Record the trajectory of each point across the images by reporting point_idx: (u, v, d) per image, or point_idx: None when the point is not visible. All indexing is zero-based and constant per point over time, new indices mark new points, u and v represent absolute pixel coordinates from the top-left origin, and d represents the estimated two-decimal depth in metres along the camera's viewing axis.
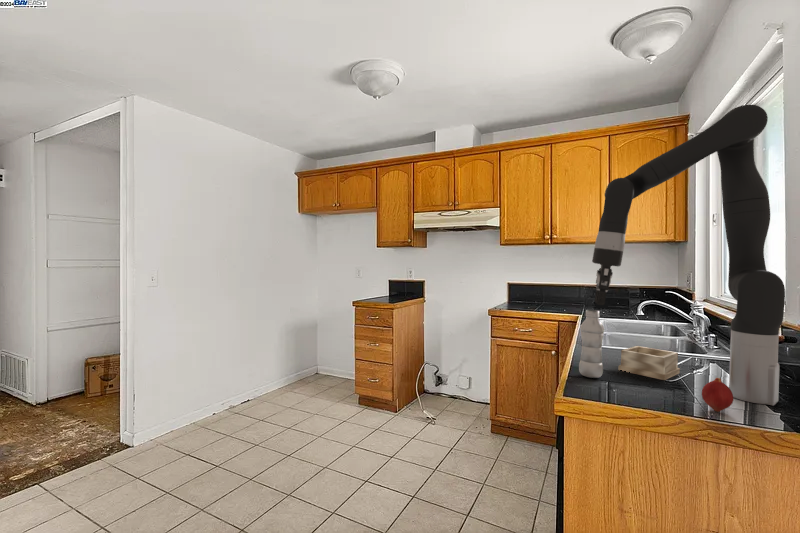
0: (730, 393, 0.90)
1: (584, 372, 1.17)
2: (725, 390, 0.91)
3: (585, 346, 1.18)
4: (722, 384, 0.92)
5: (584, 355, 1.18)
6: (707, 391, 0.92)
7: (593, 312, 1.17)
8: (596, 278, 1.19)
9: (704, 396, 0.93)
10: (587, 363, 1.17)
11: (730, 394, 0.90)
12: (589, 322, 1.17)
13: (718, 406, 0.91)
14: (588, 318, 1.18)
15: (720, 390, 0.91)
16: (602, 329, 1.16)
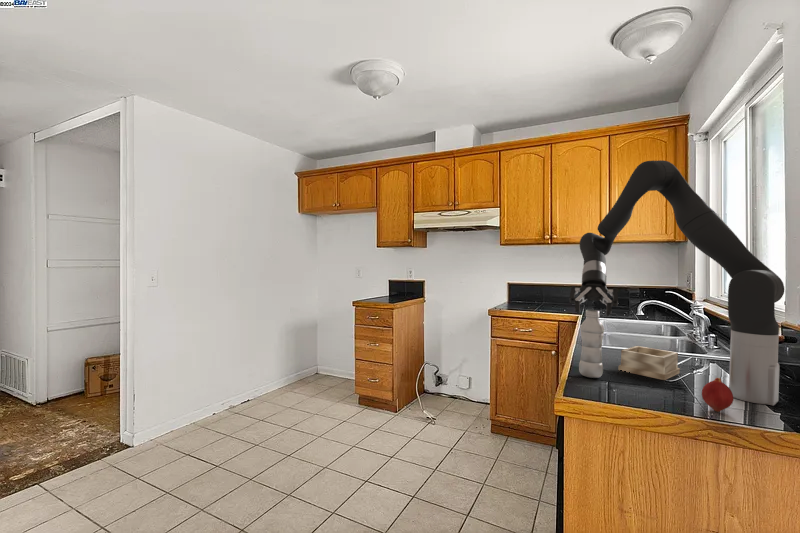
0: (730, 393, 0.90)
1: (584, 372, 1.17)
2: (725, 390, 0.91)
3: (585, 346, 1.18)
4: (722, 384, 0.92)
5: (584, 355, 1.18)
6: (707, 391, 0.92)
7: (593, 312, 1.17)
8: None
9: (704, 396, 0.93)
10: (587, 363, 1.17)
11: (730, 394, 0.90)
12: (589, 322, 1.17)
13: (718, 406, 0.91)
14: (588, 318, 1.18)
15: (720, 390, 0.91)
16: (602, 329, 1.16)
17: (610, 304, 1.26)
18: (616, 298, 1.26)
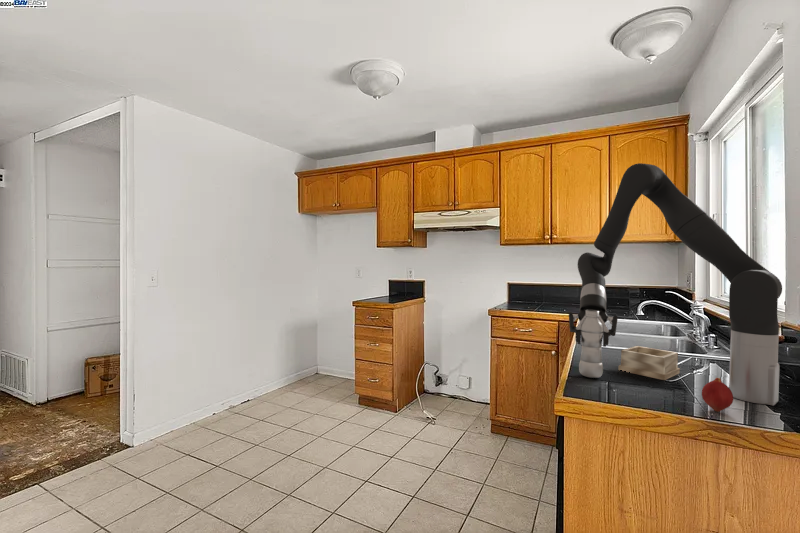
0: (730, 393, 0.90)
1: (584, 372, 1.17)
2: (725, 390, 0.91)
3: (585, 346, 1.18)
4: (722, 384, 0.92)
5: (584, 355, 1.18)
6: (707, 391, 0.92)
7: (593, 312, 1.17)
8: None
9: (704, 396, 0.93)
10: (587, 363, 1.17)
11: (730, 394, 0.90)
12: (589, 322, 1.17)
13: (718, 406, 0.91)
14: (588, 318, 1.18)
15: (720, 390, 0.91)
16: (602, 329, 1.16)
17: (607, 334, 1.17)
18: (614, 327, 1.17)
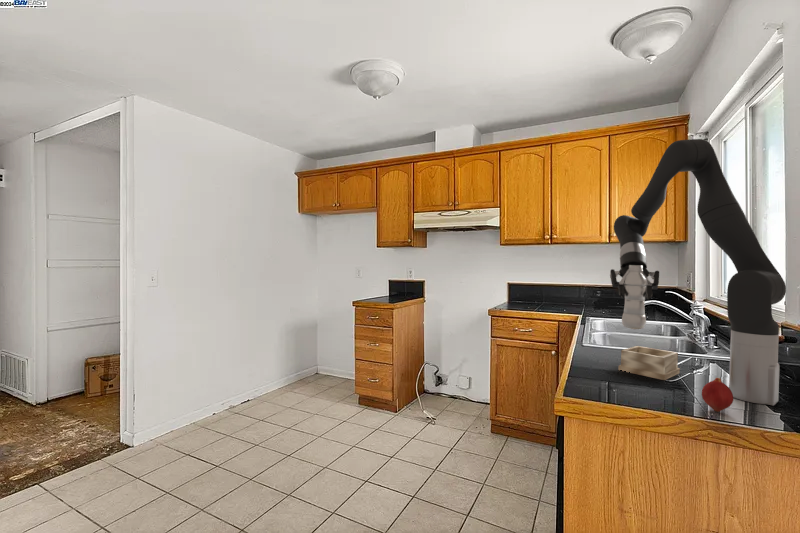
0: (730, 393, 0.90)
1: (628, 324, 1.23)
2: (725, 390, 0.91)
3: (629, 299, 1.23)
4: (722, 384, 0.92)
5: (628, 308, 1.23)
6: (707, 391, 0.92)
7: (637, 266, 1.22)
8: None
9: (704, 396, 0.93)
10: (631, 315, 1.22)
11: (730, 394, 0.90)
12: (633, 276, 1.22)
13: (718, 406, 0.91)
14: (632, 272, 1.23)
15: (720, 390, 0.91)
16: (646, 282, 1.21)
17: (650, 287, 1.22)
18: (657, 281, 1.23)
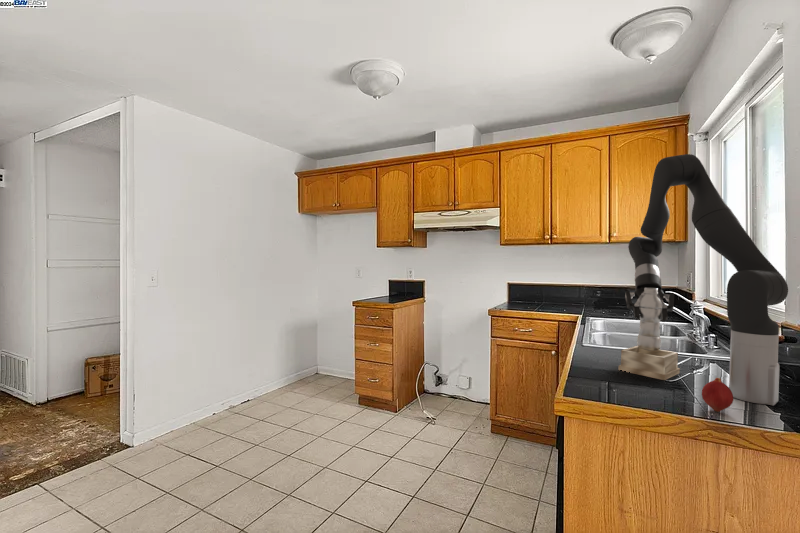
0: (730, 393, 0.90)
1: (643, 346, 1.25)
2: (725, 390, 0.91)
3: (644, 321, 1.25)
4: (722, 384, 0.92)
5: (643, 330, 1.26)
6: (707, 391, 0.92)
7: (652, 289, 1.24)
8: None
9: (704, 396, 0.93)
10: (646, 337, 1.24)
11: (730, 394, 0.90)
12: (648, 299, 1.25)
13: (718, 406, 0.91)
14: (647, 295, 1.26)
15: (720, 390, 0.91)
16: (661, 305, 1.23)
17: (665, 310, 1.25)
18: (672, 304, 1.25)
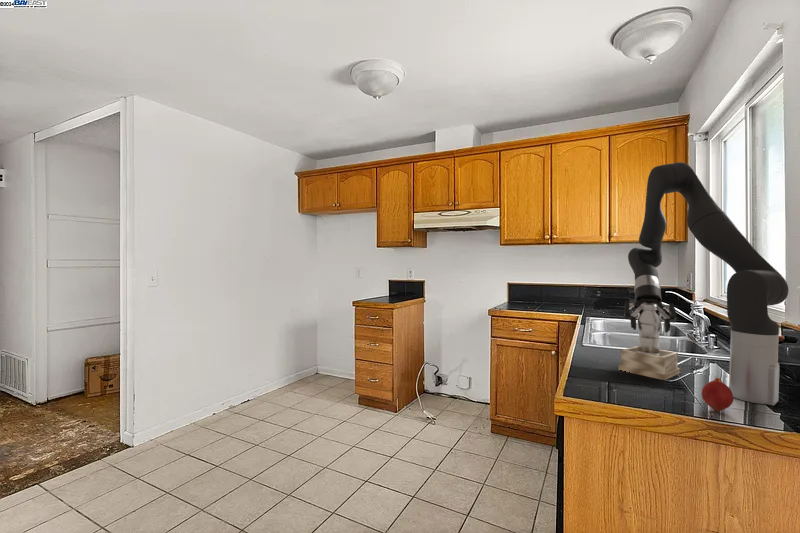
0: (730, 393, 0.90)
1: None
2: (725, 390, 0.91)
3: (643, 337, 1.25)
4: (722, 384, 0.92)
5: (642, 346, 1.26)
6: (707, 391, 0.92)
7: (651, 305, 1.25)
8: None
9: (704, 396, 0.93)
10: (645, 353, 1.25)
11: (730, 394, 0.90)
12: (647, 315, 1.25)
13: (718, 406, 0.91)
14: (645, 311, 1.26)
15: (720, 390, 0.91)
16: (660, 321, 1.24)
17: (668, 320, 1.25)
18: (674, 314, 1.25)
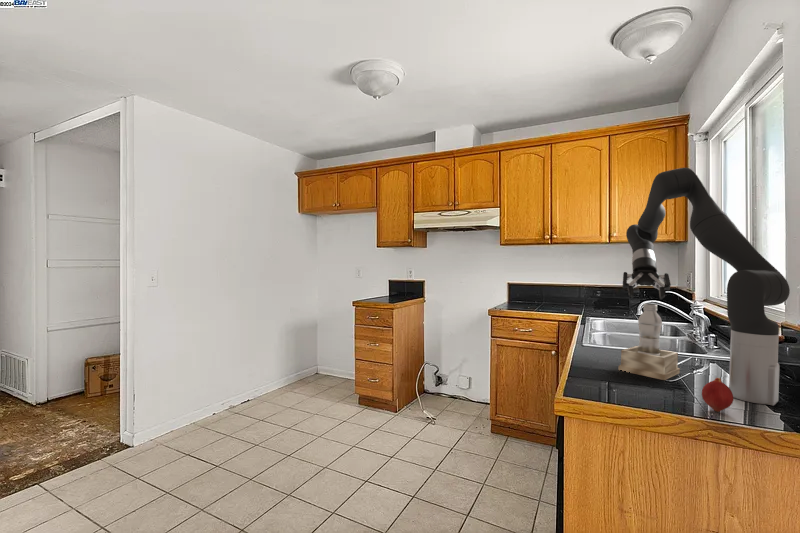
0: (730, 393, 0.90)
1: None
2: (725, 390, 0.91)
3: (644, 337, 1.25)
4: (722, 384, 0.92)
5: (642, 346, 1.26)
6: (707, 391, 0.92)
7: (652, 305, 1.25)
8: None
9: (704, 396, 0.93)
10: (646, 353, 1.25)
11: (730, 394, 0.90)
12: (648, 315, 1.25)
13: (718, 406, 0.91)
14: (646, 311, 1.26)
15: (720, 390, 0.91)
16: (660, 321, 1.24)
17: (663, 288, 1.35)
18: (668, 283, 1.36)
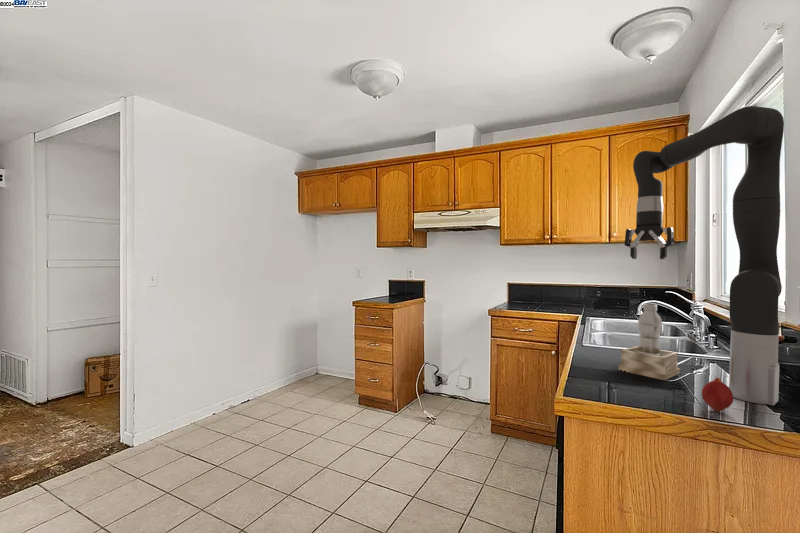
0: (730, 393, 0.90)
1: None
2: (725, 390, 0.91)
3: (644, 337, 1.25)
4: (722, 384, 0.92)
5: (642, 346, 1.26)
6: (707, 391, 0.92)
7: (651, 305, 1.25)
8: (661, 238, 1.32)
9: (704, 396, 0.93)
10: (646, 353, 1.25)
11: (730, 394, 0.90)
12: (648, 315, 1.25)
13: (718, 406, 0.91)
14: (646, 311, 1.26)
15: (720, 390, 0.91)
16: (660, 321, 1.24)
17: (664, 248, 1.30)
18: (669, 241, 1.28)
